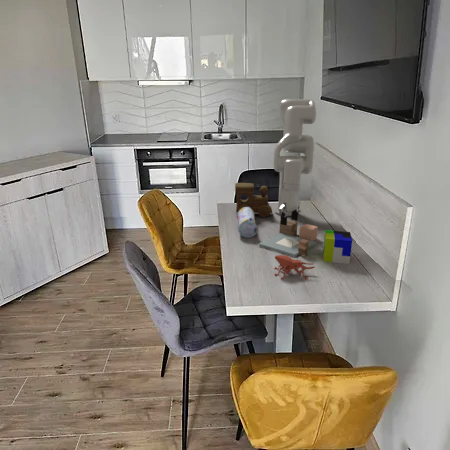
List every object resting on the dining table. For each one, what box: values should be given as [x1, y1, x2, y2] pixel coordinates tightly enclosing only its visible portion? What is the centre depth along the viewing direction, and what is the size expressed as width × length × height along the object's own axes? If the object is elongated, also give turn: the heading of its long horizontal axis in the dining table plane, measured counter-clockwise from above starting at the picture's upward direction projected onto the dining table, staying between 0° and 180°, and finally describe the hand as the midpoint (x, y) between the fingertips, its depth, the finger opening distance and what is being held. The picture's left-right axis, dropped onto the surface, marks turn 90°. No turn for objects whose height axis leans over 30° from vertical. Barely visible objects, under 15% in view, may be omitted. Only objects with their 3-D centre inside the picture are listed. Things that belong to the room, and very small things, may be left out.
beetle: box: [274, 241, 316, 280], centre depth 150 cm, size 15×12×13 cm
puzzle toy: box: [322, 229, 353, 265], centre depth 164 cm, size 10×10×10 cm
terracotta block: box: [298, 223, 319, 242], centre depth 184 cm, size 6×6×6 cm
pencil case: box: [237, 207, 258, 238], centre depth 193 cm, size 21×9×10 cm, turn 0°
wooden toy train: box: [234, 182, 273, 218], centre depth 215 cm, size 20×11×17 cm, turn 89°
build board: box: [258, 232, 317, 258], centre depth 177 cm, size 18×18×1 cm
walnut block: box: [278, 219, 299, 236], centre depth 189 cm, size 6×6×6 cm
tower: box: [298, 239, 310, 257], centre depth 167 cm, size 3×3×6 cm
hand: (288, 222), depth 187 cm, fingers open, 9 cm apart
